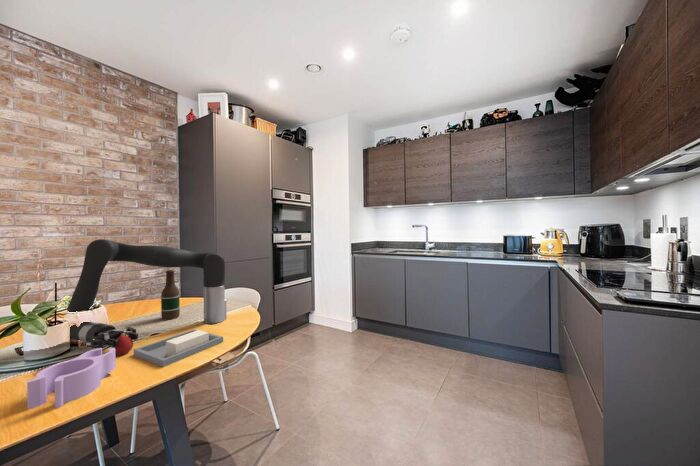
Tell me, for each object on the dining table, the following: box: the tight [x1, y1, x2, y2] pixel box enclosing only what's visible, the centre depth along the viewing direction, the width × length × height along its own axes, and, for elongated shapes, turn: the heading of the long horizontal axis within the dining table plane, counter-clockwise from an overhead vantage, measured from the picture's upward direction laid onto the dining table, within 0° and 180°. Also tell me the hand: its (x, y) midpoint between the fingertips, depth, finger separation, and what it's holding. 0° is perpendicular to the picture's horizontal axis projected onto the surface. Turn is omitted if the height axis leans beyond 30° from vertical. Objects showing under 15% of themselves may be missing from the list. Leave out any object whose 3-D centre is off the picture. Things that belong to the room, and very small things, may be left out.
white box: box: [166, 329, 210, 357], centre depth 101 cm, size 12×6×5 cm, turn 152°
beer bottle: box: [160, 269, 181, 321], centre depth 141 cm, size 8×8×24 cm
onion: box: [111, 333, 134, 356], centre depth 99 cm, size 6×6×8 cm
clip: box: [26, 347, 117, 410], centre depth 80 cm, size 20×12×7 cm, turn 3°
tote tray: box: [132, 328, 224, 368], centre depth 103 cm, size 22×18×3 cm
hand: (127, 340), depth 98 cm, fingers closed on onion, 5 cm apart
